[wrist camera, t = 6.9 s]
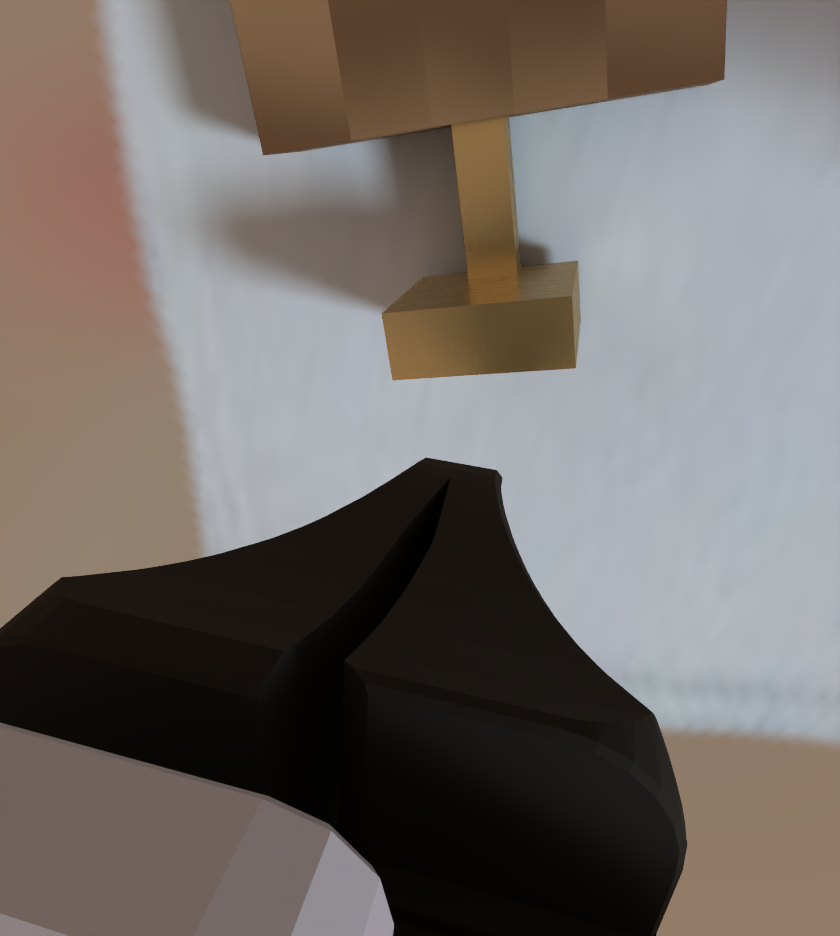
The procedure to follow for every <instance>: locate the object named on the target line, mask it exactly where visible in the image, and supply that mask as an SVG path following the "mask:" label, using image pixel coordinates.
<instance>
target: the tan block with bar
mask: <svg viewBox="0 0 840 936" xmlns="http://www.w3.org/2000/svg"><path fill="white" fill-rule="evenodd" d="M451 128H452V137H453V146H454V155H455V164H456V173H457V182H458V191H459V200H460V209H461V218H462V227H463V236H464V246H465V255H466V264H467V272H466V273H457V274H448V275H438V276H429V277H423V278H422V279H421V280H419V281H418V282H417V283H416V284H415V285H414V286H413V287H411V288H410V289H409V290H408V291H407V292H406V293H405V294H403V295H402V296H401V297H400V298H399V299H398V300H397V301H395V302H394V303H393V304H392V305H391V306H390V307H389V308H387V309H386V310H385V311H384V312H383V313H382V319H383V325H384V331H385V337H386V343H387V349H388V355H389V361H390V367H391V373H392V379H393V380H402V379H417V378H433V377H448V376H463V375H479V374H494V373H509V372H524V371H540V370H555V369H570V368H576V361H577V352H578V342H579V332H580V322H581V315H580V293H579V271H578V261H571V262H561V263H552V264H542V265H533V266H523V267H521V262H520V249H519V237H518V224H517V212H516V199H515V186H514V174H513V161H512V148H511V136H510V123H509V115H506V116H500V117H494V118H488V119H482V120H476V121H470V122H464V123H458V124H452V125H451Z"/></svg>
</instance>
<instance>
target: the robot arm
mask: <svg viewBox="0 0 840 936" xmlns="http://www.w3.org/2000/svg"><path fill="white" fill-rule="evenodd" d="M501 484H502V477H501V475H500V474H499V472H498V471H497V470H492V469H487V468H481V467H475V466H470V465H464V464H459V463H453V462H447V461H442V460H436V459H431V458H425V459H423V460H421V461H419V462H418V463H416V464H415V465H413V466H412V467H410V468H409V469H407V470H405V471H404V472H402V473H401V474H399V475H398V476H396V477H395V478H393V479H391V480H390V481H388V482H387V483H385V484H383V485H382V486H380V487H378V488H377V489H375V490H374V491H372V492H370V493H369V494H367V495H365V496H364V497H362V498H360V499H358V500H356V501H354V502H352V503H350V504H348V505H346V506H345V507H343V508H341V509H339V510H337V511H335V512H333V513H331V514H329V515H327V516H325V517H323V518H321V519H319V520H317V521H315V522H312V523H310V524H308V525H305V526H303V527H301V528H298V529H295V530H293V531H290V532H288V533H285V534H282V535H280V536H277V537H274V538H271V539H269V540H265V541H262V542H259V543H255V544H252V545H248V546H245V547H241V548H238V549H235V550H231V551H228V552H224V553H221V554H217V555H213V556H209V557H204V558H199V559H195V560H190V561H186V562H180V563H175V564H169V565H164V566H158V567H152V568H145V569H139V570H130V571H121V572H112V573H103V574H94V575H85V576H74V577H62V578H60V579H59V580H58V581H56V582H55V583H54V584H53V585H51V586H50V587H49V588H48V589H47V590H46V591H44V592H43V593H42V594H41V595H40V596H38V597H37V598H36V599H35V600H34V601H32V602H31V603H30V604H29V605H28V606H26V607H25V608H24V609H23V610H22V611H21V612H19V613H18V614H17V615H16V616H15V617H14V618H12V619H11V620H10V621H9V622H8V623H6V624H5V625H4V626H3V627H2V628H0V936H656V933H657V930H658V928H659V926H660V923H661V921H662V919H663V916H664V914H665V911H666V909H667V907H668V904H669V902H670V899H671V897H672V895H673V892H674V890H675V887H676V885H677V882H678V880H679V878H680V875H681V873H682V870H683V865H684V859H685V854H686V849H687V840H686V829H685V820H684V814H683V808H682V803H681V799H680V795H679V791H678V787H677V783H676V779H675V776H674V772H673V768H672V765H671V761H670V758H669V754H668V752H667V748H666V745H665V742H664V739H663V736H662V733H661V730H660V728H659V725H658V722H657V719H656V717H655V716H654V714H653V713H652V712H651V711H650V710H649V709H648V708H646V707H645V706H644V705H643V704H642V703H640V702H639V701H638V700H637V699H636V698H634V697H633V696H632V695H631V694H630V693H628V692H627V691H626V690H625V689H624V688H623V687H621V686H620V685H619V684H618V683H617V682H615V681H614V680H613V679H612V678H611V677H609V676H608V675H607V674H606V673H605V672H604V671H603V670H602V669H601V668H600V667H599V666H598V665H597V664H596V663H595V662H594V661H593V660H592V659H591V658H590V657H589V656H588V655H587V654H586V653H585V652H584V651H583V650H582V649H581V648H580V647H579V646H578V645H577V644H576V643H575V641H574V640H573V639H572V638H571V636H570V635H569V634H568V633H567V631H566V630H565V629H564V628H563V626H562V625H561V624H560V623H559V622H558V620H557V619H556V618H555V616H554V615H553V613H552V612H551V610H550V609H549V607H548V606H547V604H546V603H545V601H544V600H543V598H542V597H541V595H540V593H539V591H538V590H537V588H536V586H535V585H534V583H533V581H532V579H531V577H530V575H529V574H528V572H527V569H526V567H525V565H524V563H523V561H522V559H521V556H520V554H519V552H518V550H517V547H516V545H515V542H514V539H513V537H512V534H511V530H510V527H509V524H508V521H507V518H506V514H505V510H504V506H503V500H502V494H501Z"/></svg>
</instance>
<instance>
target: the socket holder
mask: <svg viewBox="0 0 840 936" xmlns="http://www.w3.org/2000/svg"><path fill="white" fill-rule="evenodd" d="M230 4H231V8H232V13H233V17H234V22H235V27H236V31H237V36H238V41H239V45H240V50H241V55H242V59H243V64H244V68H245V73H246V78H247V82H248V87H249V92H250V96H251V101H252V105H253V110H254V115H255V119H256V124H257V129H258V133H259V138H260V142H261V147H262V152H263V155H270V154H280V153H290V152H300V151H306V150H312V149H318V148H324V147H330V146H336V145H342V144H348V143H355V142H361V141H367V140H373V139H379V138H385V137H391V136H397V135H403V134H409V133H416V132H422V131H428V130H434V129H440V128H446V127H451V125H452V124H458V123H464V122H470V121H476V120H482V119H488V118H494V117H500V116H506V115H509V117H513V116H519V115H525V114H531V113H538V112H544V111H550V110H556V109H562V108H568V107H574V106H580V105H586V104H593V103H599V102H605V101H611V100H617V99H623V98H629V97H635V96H641V95H647V94H654V93H660V92H666V91H672V90H678V89H684V88H690V87H696V86H702V85H708V84H712V83H715V82H717V81H720V80H723V79H724V67H725V40H726V12H727V0H230Z"/></svg>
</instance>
